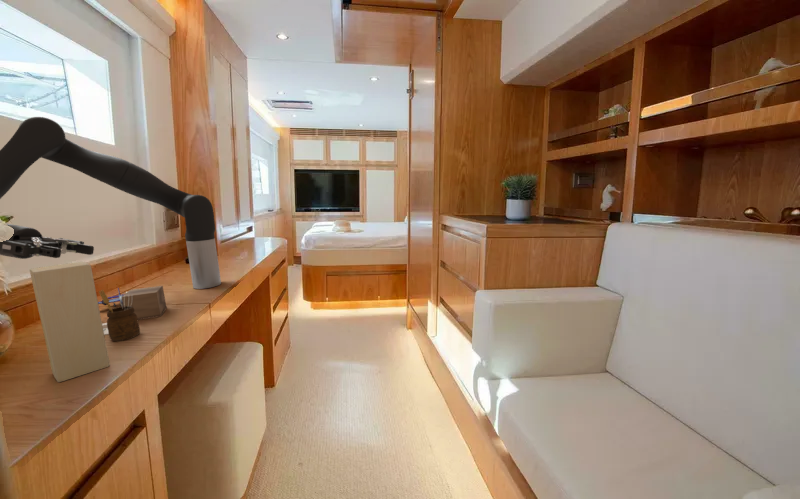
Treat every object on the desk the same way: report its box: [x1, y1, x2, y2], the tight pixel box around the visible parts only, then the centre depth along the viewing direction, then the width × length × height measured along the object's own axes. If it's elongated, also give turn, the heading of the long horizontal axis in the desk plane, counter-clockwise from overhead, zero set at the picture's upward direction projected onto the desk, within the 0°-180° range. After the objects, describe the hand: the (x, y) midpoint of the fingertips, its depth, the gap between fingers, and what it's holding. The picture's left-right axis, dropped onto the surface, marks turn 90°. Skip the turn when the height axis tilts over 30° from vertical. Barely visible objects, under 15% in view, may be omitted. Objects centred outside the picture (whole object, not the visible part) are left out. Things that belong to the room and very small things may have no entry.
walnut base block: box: [122, 285, 168, 321], centre depth 102 cm, size 8×8×7 cm
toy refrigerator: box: [29, 261, 111, 383], centre depth 69 cm, size 8×7×21 cm
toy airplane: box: [98, 287, 125, 307], centre depth 111 cm, size 13×14×4 cm
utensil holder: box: [98, 289, 141, 342], centre depth 86 cm, size 6×6×12 cm
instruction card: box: [102, 322, 109, 336], centre depth 92 cm, size 10×7×1 cm
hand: (76, 251), depth 84 cm, fingers open, 8 cm apart
